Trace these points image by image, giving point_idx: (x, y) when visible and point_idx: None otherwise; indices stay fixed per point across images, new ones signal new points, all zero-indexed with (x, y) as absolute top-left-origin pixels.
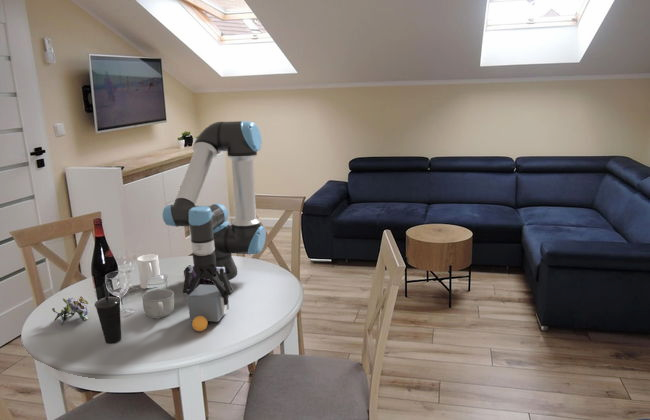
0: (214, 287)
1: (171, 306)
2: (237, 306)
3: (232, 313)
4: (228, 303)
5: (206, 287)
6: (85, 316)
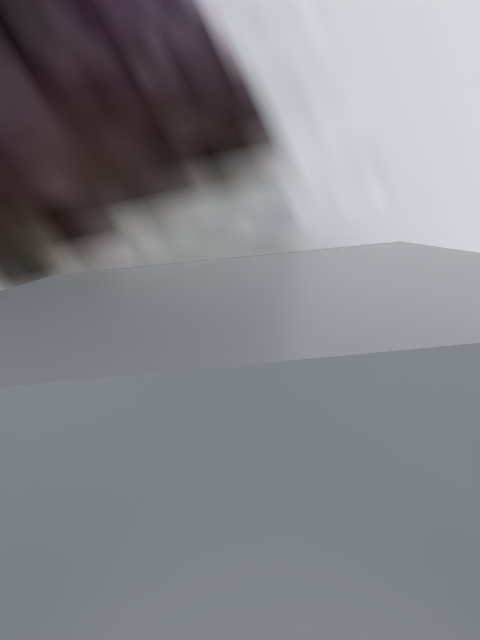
0: (365, 568)
1: None
2: (416, 53)
3: None
4: (431, 246)
5: (60, 624)
6: None
